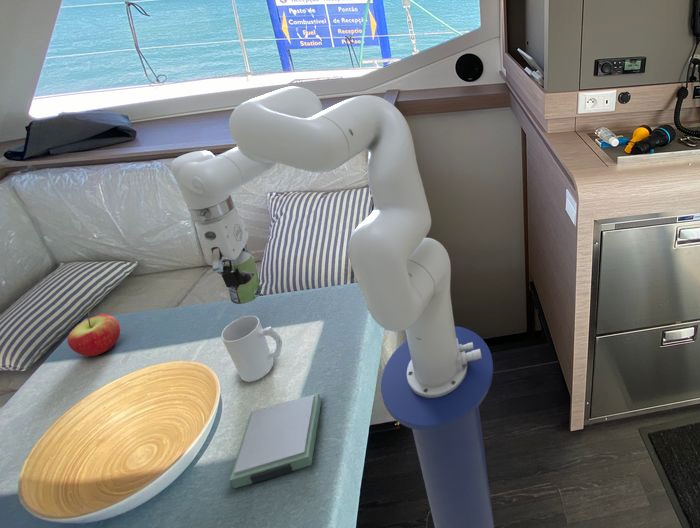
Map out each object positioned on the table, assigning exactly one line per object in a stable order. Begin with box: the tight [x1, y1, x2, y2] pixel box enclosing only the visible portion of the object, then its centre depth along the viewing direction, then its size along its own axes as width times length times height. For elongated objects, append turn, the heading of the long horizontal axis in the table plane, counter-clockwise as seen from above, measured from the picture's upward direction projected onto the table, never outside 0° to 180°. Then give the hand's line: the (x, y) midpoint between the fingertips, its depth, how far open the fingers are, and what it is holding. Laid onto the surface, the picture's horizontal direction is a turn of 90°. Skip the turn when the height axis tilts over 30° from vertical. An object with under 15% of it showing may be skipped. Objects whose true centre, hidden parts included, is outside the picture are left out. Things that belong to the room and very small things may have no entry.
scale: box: [229, 393, 322, 489], centre depth 75 cm, size 12×12×3 cm
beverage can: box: [223, 250, 262, 305], centre depth 95 cm, size 6×7×12 cm
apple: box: [67, 310, 121, 357], centre depth 95 cm, size 8×8×10 cm
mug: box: [220, 315, 283, 383], centre depth 87 cm, size 10×7×12 cm, turn 98°
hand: (240, 274), depth 95 cm, fingers closed on beverage can, 6 cm apart
